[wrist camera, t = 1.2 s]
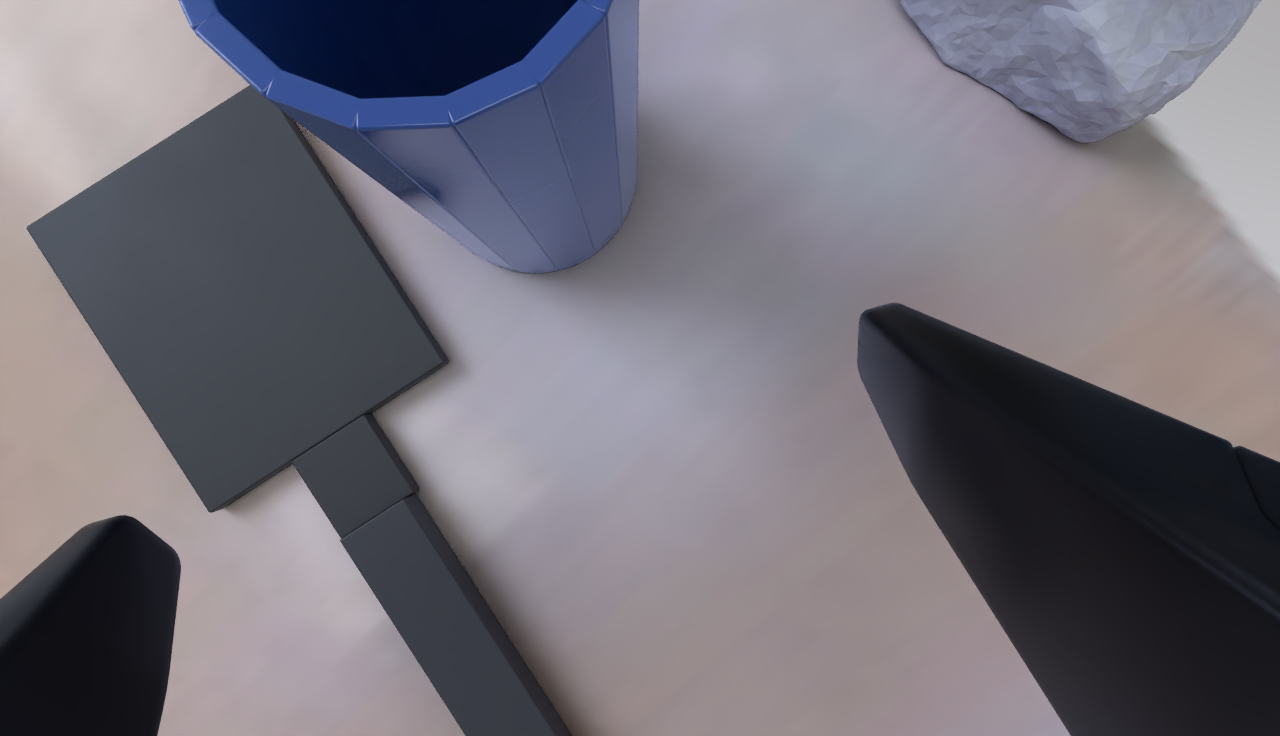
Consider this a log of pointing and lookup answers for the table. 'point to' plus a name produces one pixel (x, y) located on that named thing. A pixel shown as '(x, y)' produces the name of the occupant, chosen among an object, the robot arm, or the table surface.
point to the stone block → (1082, 53)
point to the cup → (460, 107)
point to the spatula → (284, 368)
